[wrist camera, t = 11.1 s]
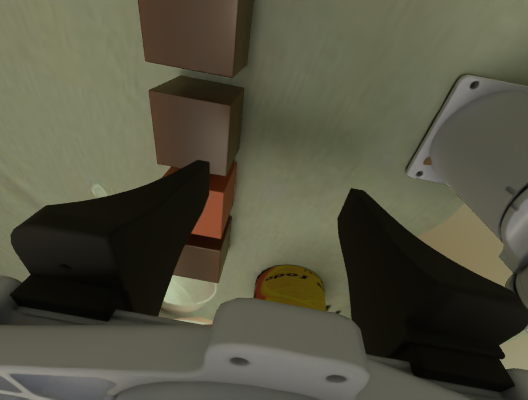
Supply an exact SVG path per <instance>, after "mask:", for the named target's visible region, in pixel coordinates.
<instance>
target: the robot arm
mask: <svg viewBox="0 0 528 400" xmlns="http://www.w3.org/2000/svg"><path fill="white" fill-rule="evenodd" d="M474 81H475V82H476V83H475V85H474V86H473V87H471V88H470V84H471V83H472V82H474ZM429 156H430V158H431V161H432V165H424V164H423V162H424V160H425V159H426V158H427V157H429ZM419 171H421V172H420V173H419V174H416V173H417V172H419ZM406 174H407V175H408V177H411V178H416V179H421V180H427V181H432V182H437V183H443V184H448V186H449V187H450V188H451V189H452V190H453V191H454V192H455V193H456V194H457V195H458V196H459V197H460V198H461V199H462V200H463V201H464V202H465V203H466V205H467V206H468V207H469V208H470V209H471V210H472V211H473V212H474V213H475V214H476V215H477V216H478V217H479V218H480V219H481V220H482V221H483V222H484V223H485V224H486V226H487V227H488V228H489V229H490V230H491V231H492V232H493V233H494V234H495V235H496V236H497V237H498V238H499V239H500V240H501V241H502V242H503V244H504V247H503V251H502V253H501V254H500V255H499V257H500V259H501V260H502V261H503V262H504V263H505V264H506V265H507V267H508V268H509V269H510V270H511V271H512V272H513V273H514V274H512V275H511V276H510V278H509V279H508V280H507V282H506V284H505V287H503V286H501V285H499V284H497V283H495V282H493V281H491V280H488V279H486V278H484V277H482V276H480V275H478V274H476V273H474V272H472V271H470V270H468V269H467V268H465V267H463V266H461V265H459V264H457V263H455V262H454V261H452V260H450V259H449V258H447V257H446V256H444V255H442V254H441V253H439V252H437V251H436V250H434V249H433V248H431V247H430V246H428V245H427V244H425V243H424V242H423V241H421V240H420V239H418V238H417V237H416V236H414V235H413V234H412V233H410V232H409V231H408V230H407V229H405V228H404V227H403V226H402V225H401V224H400V223H398V222H397V221H396V220H395V219H394V218H393V217H392V216H390V215H389V214H388V213H387V212H386V211H385V210H384V209H383V208H382V207H381V206H380V205H379V204H378V203H377V202H376V201H375V200H374V199H373V198H371V197H370V196H369V195H368V194H367V193H366V192H365V191H363V190H359V189H353V188H351V189H350V192H349V194H348V196H347V198H346V201H345V203H344V205H343V207H342V210H341V212H340V214H339V216H338V234H339V240H340V245H341V249H342V254H343V258H344V262H345V267H346V271H347V277H348V283H349V293H350V304H351V317H352V320H351V319H350V318H347V317H345V316H342V315H339V314H336V313H333V312H327V311H322V310H316V309H311V308H305V307H300V306H294V305H288V304H283V303H277V302H272V301H266V300H261V299H255V298H236V299H233V300H230V301H227V302H224V303H222V304H221V305H220V307H219V308H218V310H217V311H216V313H215V317H214V321H213V324H212V325H201V324H195V323H189V322H184V321H178V320H173V319H167V318H162V317H158V315H159V312H160V309H161V306H162V303H163V300H164V297H165V294H166V292H167V289H168V286H169V283H170V281H171V278H172V275H173V273H174V270H175V267H176V265H177V262H178V260H179V258H180V255H181V253H182V250H183V248H184V246H185V244H186V242H187V240H188V238H189V236H190V235H191V233H192V231H193V229H194V227H195V225H196V224H197V222H198V220H199V218H200V216H201V214H202V212H203V210H204V208H205V205H206V203H207V200H208V197H209V181H210V162H208V161H202V160H196V161H194V162H192V163H190V164H188V165H187V166H185V167H183V168H181V169H179V170H177V171H175V172H173V173H172V174H169V175H167V176H165V177H163V178H161V179H159V180H157V181H154V182H152V183H149V184H147V185H144V186H141V187H139V188H136V189H133V190H129V191H126V192H122V193H118V194H115V195H111V196H106V197H102V198H97V199H91V200H86V201H79V202H72V203H64V204H56V205H46V206H45V207H43V208H42V209H41V210H39V211H38V212H37V213H35V214H34V215H33V216H31V217H30V218H28V219H27V220H26V221H24V222H23V223H22V224H20V225H19V226H18V227H16V228H15V229H14V230H13V231H12V233H11V244H12V246H13V248H14V250H15V252H16V253H17V255H18V256H19V258H20V259H21V261H22V262H23V264H24V265H25V267H26V268H27V270H28V271H29V273H30V274H31V275H30V276H29V277H28V278H27V279H26V280H25V281H24V282H23V283H22V282H20V281H19V280H17V279H14V278H11V277H7V276H1V275H0V400H528V370H523V369H514V368H513V369H505V368H504V366H503V364H502V363H501V361H500V359H503V358H505V354H504V353H503V352H502V350H501V348H500V346H499V345H500V344H502V343H504V342H505V341H507V340H509V339H510V338H512V337H513V336H515V335H517V334H518V333H520V332H521V331H522V330H524V329H525V330H526V331H527V332H528V86H526V85H520V84H515V83H510V82H505V81H500V80H494V79H489V78H484V77H479V76H473V75H464V76H462V77H461V78H459V80H458V81H457V82H456V84H455V86H454V88H453V89H452V91H451V93H450V95H449V96H448V98H447V100H446V102H445V103H444V105H443V107H442V109H441V110H440V112H439V114H438V116H437V117H436V119H435V121H434V122H433V124H432V126H431V128H430V129H429V131H428V133H427V135H426V136H425V138H424V140H423V142H422V143H421V145H420V147H419V149H418V150H417V152H416V154H415V156H414V157H413V159H412V161H411V163H410V164H409V166H408V168H407V170H406Z"/></svg>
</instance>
